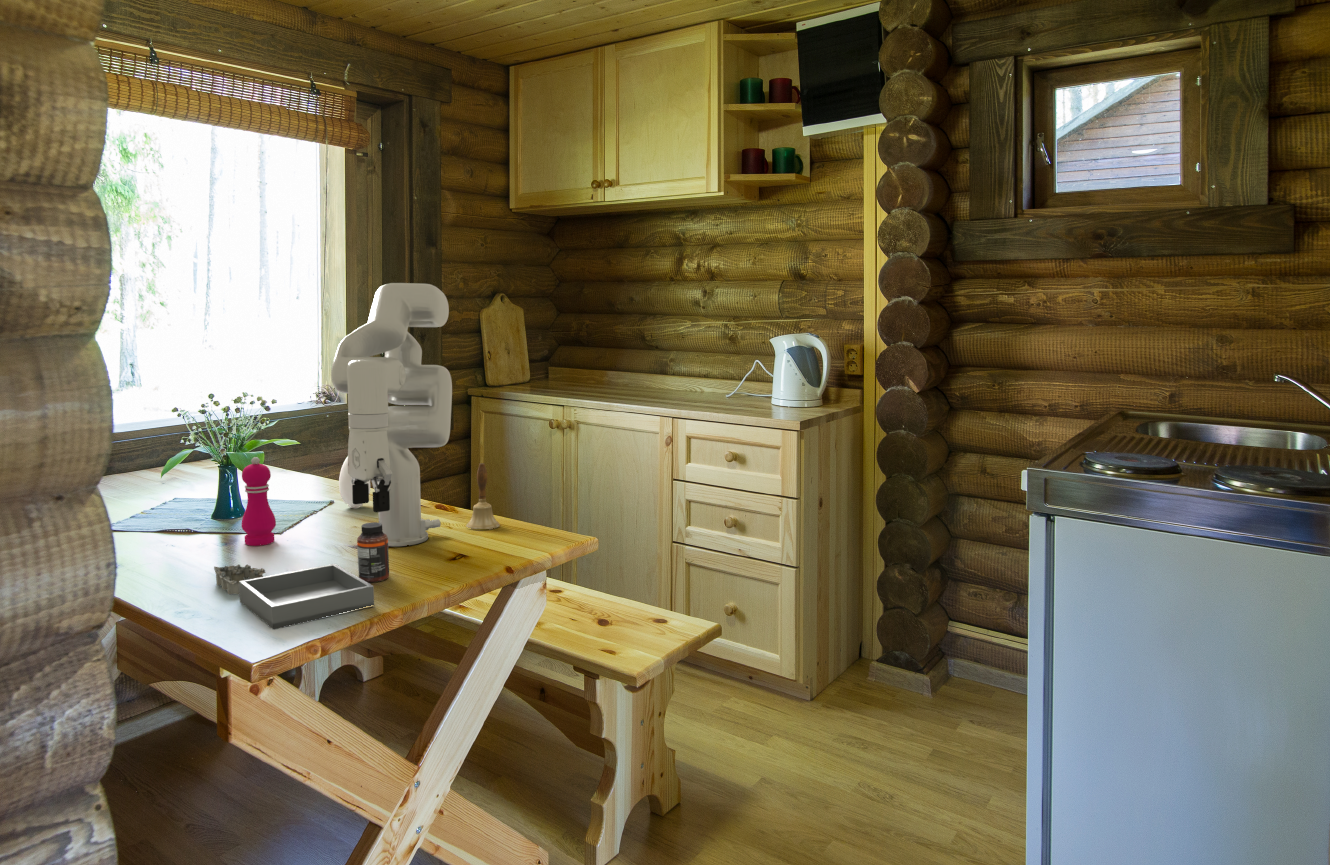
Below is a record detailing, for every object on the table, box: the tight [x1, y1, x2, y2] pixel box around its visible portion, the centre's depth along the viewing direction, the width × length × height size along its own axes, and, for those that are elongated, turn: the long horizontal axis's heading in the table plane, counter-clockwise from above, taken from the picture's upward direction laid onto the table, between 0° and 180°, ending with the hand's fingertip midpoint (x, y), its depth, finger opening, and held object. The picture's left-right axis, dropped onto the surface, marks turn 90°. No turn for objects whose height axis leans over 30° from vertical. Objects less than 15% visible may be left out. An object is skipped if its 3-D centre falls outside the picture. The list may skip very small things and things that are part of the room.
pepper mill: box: [241, 456, 277, 547], centre depth 205 cm, size 7×7×20 cm
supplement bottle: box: [356, 521, 390, 583], centre depth 180 cm, size 6×6×11 cm
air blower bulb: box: [338, 455, 371, 509], centre depth 240 cm, size 8×8×18 cm
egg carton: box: [213, 564, 266, 595], centre depth 175 cm, size 11×8×4 cm
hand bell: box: [465, 462, 501, 530], centre depth 223 cm, size 8×8×16 cm
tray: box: [239, 563, 375, 630], centre depth 165 cm, size 18×18×4 cm
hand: (371, 507), depth 178 cm, fingers open, 9 cm apart
